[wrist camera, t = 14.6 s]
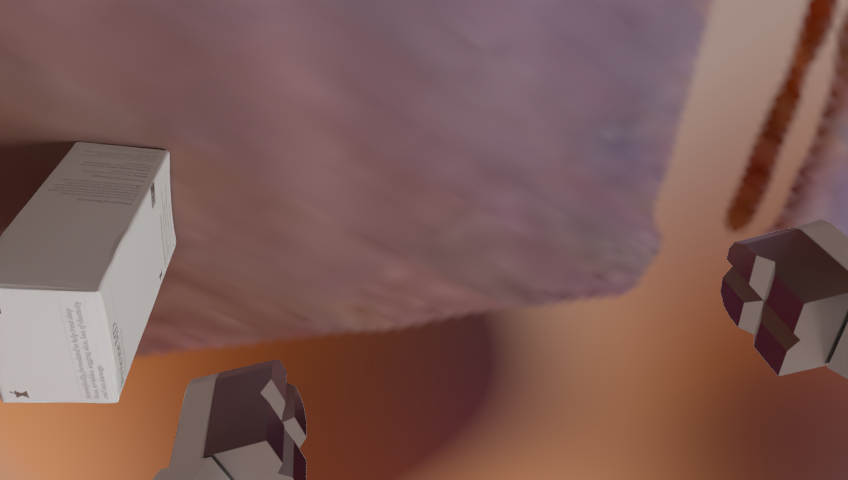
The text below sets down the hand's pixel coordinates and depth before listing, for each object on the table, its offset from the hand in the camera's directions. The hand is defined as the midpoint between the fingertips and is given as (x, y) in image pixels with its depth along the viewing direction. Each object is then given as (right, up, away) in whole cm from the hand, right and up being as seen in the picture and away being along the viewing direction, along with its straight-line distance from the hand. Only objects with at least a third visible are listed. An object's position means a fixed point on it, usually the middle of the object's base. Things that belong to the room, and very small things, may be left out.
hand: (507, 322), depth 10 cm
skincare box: (-22, +5, +29) cm, 37 cm away
